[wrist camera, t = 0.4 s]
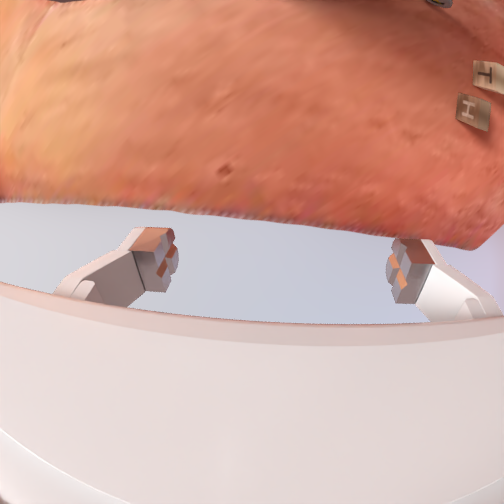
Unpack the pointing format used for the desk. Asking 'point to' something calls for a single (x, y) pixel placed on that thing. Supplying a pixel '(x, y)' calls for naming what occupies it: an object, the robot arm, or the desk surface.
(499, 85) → the wooden letter t block
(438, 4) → the pocket watch
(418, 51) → the desk surface
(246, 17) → the desk surface
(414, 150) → the desk surface
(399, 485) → the robot arm
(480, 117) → the wooden letter h block
